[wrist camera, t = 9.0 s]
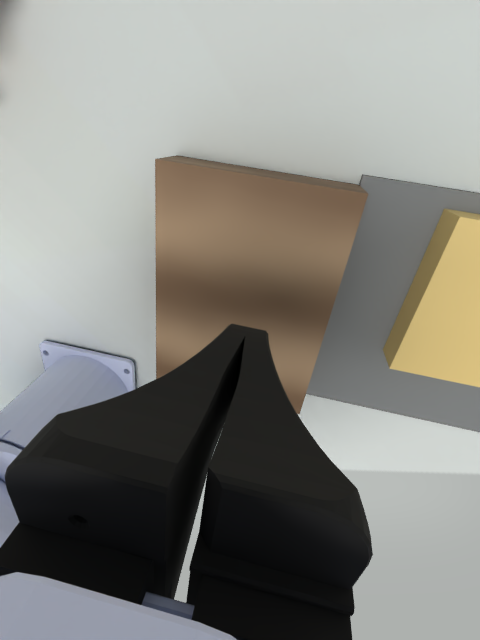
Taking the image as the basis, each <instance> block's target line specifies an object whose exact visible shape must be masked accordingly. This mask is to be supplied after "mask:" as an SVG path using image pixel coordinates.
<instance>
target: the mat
mask: <svg viewBox="0 0 480 640" xmlns="http://www.w3.org/2000/svg"><path fill="white" fill-rule="evenodd" d="M360 186H361V187H362V188H363V189H364V190H365V191H366V192H367V193H368V197H367V200H366V203H365V207H364V210H363V213H362V216H361V219H360V223H359V226H358V229H357V232H356V235H355V239H354V242H353V245H352V248H351V251H350V254H349V258H348V261H347V264H346V267H345V270H344V274H343V277H342V280H341V283H340V286H339V290H338V293H337V296H336V299H335V302H334V305H333V309H332V312H331V315H330V318H329V321H328V325H327V328H326V331H325V334H324V337H323V341H322V344H321V347H320V350H319V353H318V356H317V360H316V363H315V366H314V369H313V372H312V376H311V379H310V382H309V385H308V388H307V392H306V394H309V395H314V396H318V397H323V398H327V399H332V400H336V401H341V402H345V403H350V404H354V405H359V406H363V407H368V408H372V409H377V410H381V411H386V412H390V413H395V414H399V415H404V416H408V417H413V418H417V419H422V420H427V421H431V422H436V423H440V424H445V425H449V426H454V427H458V428H463V429H467V430H472V431H476V432H480V387H476V386H471V385H466V384H461V383H456V382H452V381H447V380H442V379H437V378H432V377H428V376H423V375H418V374H413V373H408V372H404V371H399V370H394V369H389V366H388V363H387V360H386V357H385V354H384V351H383V348H384V346H385V344H386V341H387V339H388V337H389V335H390V332H391V330H392V328H393V325H394V323H395V321H396V318H397V316H398V314H399V312H400V309H401V307H402V305H403V302H404V300H405V298H406V295H407V293H408V291H409V289H410V286H411V284H412V282H413V279H414V277H415V275H416V272H417V270H418V268H419V266H420V263H421V261H422V259H423V256H424V254H425V252H426V250H427V247H428V245H429V243H430V240H431V238H432V236H433V233H434V231H435V229H436V227H437V224H438V222H439V220H440V217H441V215H442V213H443V210H444V209H451V210H457V211H463V212H469V213H475V214H480V193H474V192H468V191H462V190H456V189H449V188H443V187H437V186H430V185H424V184H418V183H411V182H405V181H399V180H392V179H386V178H380V177H373V176H367V175H362V178H361V181H360Z"/></svg>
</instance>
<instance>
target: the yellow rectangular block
mask: <svg viewBox="0 0 480 640" xmlns="http://www.w3.org/2000/svg"><path fill="white" fill-rule="evenodd" d="M383 351H384V354H385V357H386V360H387V363H388V366H389V369H394V370H399V371H404V372H408V373H413V374H418V375H423V376H428V377H432V378H437V379H442V380H447V381H452V382H456V383H461V384H466V385H471V386H476V387H480V214H475V213H469V212H463V211H457V210H451V209H444V210H443V213H442V215H441V217H440V220H439V222H438V224H437V227H436V229H435V231H434V233H433V236H432V238H431V240H430V243H429V245H428V247H427V250H426V252H425V254H424V256H423V259H422V261H421V263H420V266H419V268H418V270H417V272H416V275H415V277H414V279H413V282H412V284H411V286H410V289H409V291H408V293H407V295H406V298H405V300H404V302H403V305H402V307H401V309H400V312H399V314H398V316H397V318H396V321H395V323H394V325H393V328H392V330H391V332H390V335H389V337H388V339H387V341H386V344H385V346H384V348H383Z"/></svg>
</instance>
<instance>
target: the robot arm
mask: <svg viewBox="0 0 480 640" xmlns="http://www.w3.org/2000/svg"><path fill="white" fill-rule="evenodd" d="M268 335H269V334H268V333H267V331H265V330H260V329H255V328H251V327H246V326H241V325H237V324H230V325H228V326H227V327H226V329H225V330H224V331H223V332H222V333H220V334H219V335H218V336H217V337H216V338H215V339H214V340H213V341H212V342H211V343H209V344H208V345H207V346H206V347H205V348H203V349H202V350H201V351H200V352H198V353H197V354H196V355H194V356H193V357H191V358H190V359H189V360H187V361H186V362H185V363H183V364H182V365H180V366H178V367H177V368H175V369H174V370H172V371H170V372H169V373H167V374H165V375H163V376H162V377H160V378H158V379H156V380H154V381H152V382H150V383H148V384H145V385H143V386H141V387H139V388H137V389H136V388H135V368H134V363H133V361H131V360H129V359H126V358H121V357H117V356H112V355H108V354H103V353H99V352H94V351H90V350H86V349H81V348H77V347H72V346H68V345H63V344H59V343H54V342H50V341H43V342H41V343H40V345H39V347H40V351H41V356H42V360H43V364H44V369H45V372H44V373H43V374H41V375H40V376H39V377H38V378H37V379H36V380H35V381H34V382H33V383H31V384H30V385H29V386H28V387H27V388H26V389H25V390H24V391H23V392H21V393H20V394H19V395H18V396H17V397H16V398H15V399H14V400H13V401H11V402H10V403H9V404H8V405H7V406H6V407H5V408H4V409H3V410H1V411H0V640H352V632H351V622H350V616H352V615H353V613H354V599H353V589H352V587H353V585H354V584H355V582H356V581H357V580H358V578H359V577H360V576H361V574H362V573H363V571H364V570H365V568H366V567H367V566H368V564H369V562H370V560H371V557H372V555H373V554H372V546H371V536H370V531H369V527H368V522H367V519H366V515H365V512H364V508H363V505H362V502H361V499H360V495H359V492H358V490H357V488H356V487H355V486H354V485H353V484H352V483H351V482H350V481H349V479H348V478H347V477H346V476H345V475H344V474H343V473H342V472H341V471H340V470H339V469H338V468H337V467H336V466H335V465H334V463H333V462H332V461H331V460H330V459H329V458H328V457H327V455H326V454H325V453H324V452H323V451H322V449H321V448H320V447H319V446H318V444H317V443H316V441H315V440H314V439H313V437H312V436H311V434H310V433H309V431H308V430H307V429H306V427H305V426H304V424H303V423H302V421H301V420H300V418H299V416H298V415H297V413H296V411H295V410H294V408H293V406H292V404H291V402H290V400H289V398H288V396H287V394H286V392H285V390H284V388H283V386H282V383H281V381H280V378H279V376H278V373H277V371H276V367H275V364H274V361H273V358H272V355H271V350H270V346H269V338H268ZM127 369H128V370H129V371H128V370H127ZM222 428H223V429H222ZM221 431H222V432H221ZM220 434H221V435H220ZM219 436H220V438H219ZM218 439H219V440H218ZM217 442H218V443H217ZM216 444H217V446H216ZM215 447H216V448H215ZM214 449H215V451H214ZM213 452H214V454H213ZM212 455H213V456H212ZM211 458H212V459H211ZM207 472H208V473H207ZM206 476H207V480H206V487H205V494H204V502H203V509H202V516H201V523H200V530H199V535H198V538H197V542H196V546H195V549H194V553H193V556H192V560H191V564H190V578H189V587H188V594H187V602H186V603H184V602H180V601H177V600H174V597H175V593H176V589H177V585H178V581H179V577H180V573H181V570H182V566H183V562H184V558H185V554H186V550H187V546H188V543H189V539H190V535H191V531H192V528H193V524H194V520H195V516H196V512H197V509H198V505H199V501H200V498H201V494H202V490H203V487H204V483H205V479H206Z"/></svg>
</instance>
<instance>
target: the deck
mask: <svg viewBox="0 0 480 640" xmlns="http://www.w3.org/2000/svg"><path fill="white" fill-rule="evenodd" d="M155 188H156V379H158V378H160V377H162V376H163V375H165V374H167V373H169V372H170V371H172V370H174V369H175V368H177V367H178V366H180V365H182V364H183V363H185V362H186V361H187V360H189V359H190V358H191V357H193V356H194V355H196V354H197V353H198V352H200V351H201V350H202V349H203V348H205V347H206V346H207V345H208V344H209V343H211V342H212V341H213V340H214V339H215V338H216V337H217V336H218V335H219V334H220V333H222V332H223V331H224V330H225V329H226V327H227V326H228V325H230V324H237V325H241V326H246V327H251V328H255V329H260V330H265V331H267V333H268V334H269V335H268V338H269V346H270V350H271V355H272V358H273V361H274V364H275V367H276V371H277V373H278V376H279V378H280V381H281V383H282V386H283V388H284V390H285V392H286V394H287V396H288V398H289V400H290V402H291V404H292V406H293V408H294V410H295V411H296V413H297V414H300V411H301V407H302V404H303V401H304V398H305V395H306V392H307V388H308V385H309V382H310V379H311V376H312V372H313V369H314V366H315V363H316V360H317V356H318V353H319V350H320V347H321V344H322V341H323V337H324V334H325V331H326V328H327V325H328V321H329V318H330V315H331V312H332V309H333V305H334V302H335V299H336V296H337V293H338V290H339V286H340V283H341V280H342V277H343V274H344V270H345V267H346V264H347V261H348V258H349V254H350V251H351V248H352V245H353V242H354V239H355V235H356V232H357V229H358V226H359V223H360V219H361V216H362V213H363V210H364V207H365V203H366V200H367V197H368V193H367V192H366V191H365V190H364V189H363V188H362V187H361V186H360V185H356V184H350V183H344V182H338V181H331V180H325V179H319V178H313V177H307V176H300V175H294V174H288V173H282V172H276V171H269V170H263V169H257V168H251V167H245V166H238V165H232V164H226V163H220V162H214V161H207V160H201V159H195V158H189V157H183V156H171V157H165V158H159V159H155Z"/></svg>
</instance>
